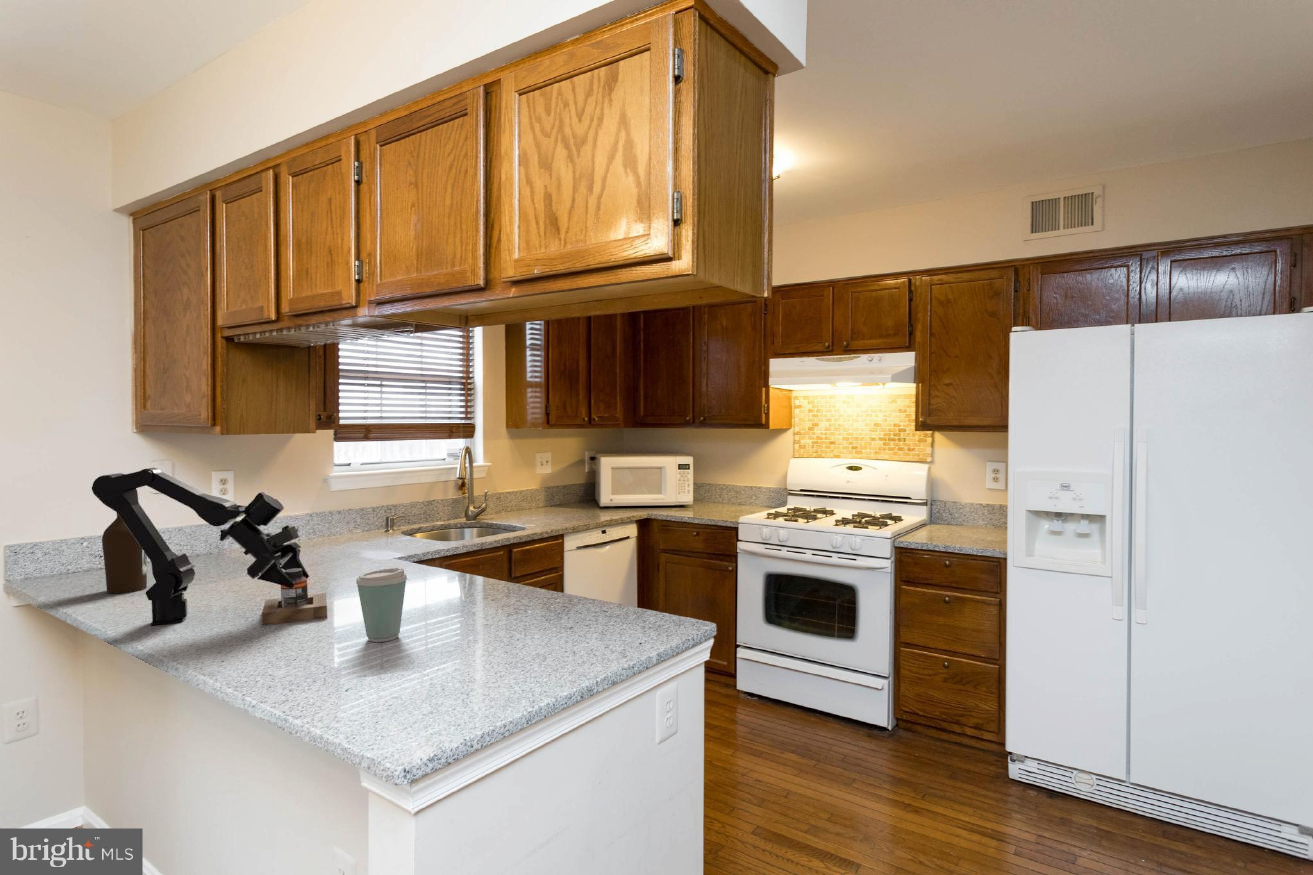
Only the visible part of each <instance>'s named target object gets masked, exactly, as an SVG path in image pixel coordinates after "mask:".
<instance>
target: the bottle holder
mask: <svg viewBox="0 0 1313 875" xmlns="http://www.w3.org/2000/svg"><path fill="white" fill-rule="evenodd" d="M327 600H328V599H327V592H322V593H315V594H308V605H302V606H294V607H285V608H282V607H281V606H282V603H281V602H282V601H281V597H279V598H270V599H265V600H264V604H263V608H262V611H261V626H270V625H272V626H273V625H278V624H287V623H294V622H296V623H297V622H302V621H311V620H320V619H326V618H328V603H327Z"/></svg>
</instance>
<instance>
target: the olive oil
mask: <svg viewBox="0 0 1313 875" xmlns="http://www.w3.org/2000/svg"><path fill="white" fill-rule="evenodd" d="M101 546H102V554H103V562H104V572H105V584H106V593H107V594H111V595H112V594H113V595H117V594H129V593H134V592H139V591H142V590H145V589H146V588H147V587H148V586H147V585H148V579H147V578H148V557H147V555H146V554H145V552H144V551H143V549H142V548H141V546H140V545H139V544H138V542H137V541H136V539H135V538H134V536H133V535H132V533H131V532H130V531H129V529H128V528H127V526H126V525H125V523H124V522H123V520H122V519H121V518H120V516H119V515H118V513H117V512H116V518H115V519H114V520H113V521H112V522H111V523H110V524H109V526H107V528H105V530H104V531H103V533H102V537H101Z"/></svg>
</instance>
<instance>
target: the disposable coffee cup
mask: <svg viewBox="0 0 1313 875" xmlns="http://www.w3.org/2000/svg"><path fill="white" fill-rule="evenodd" d="M407 580H408V578H407V574H406V573H405V568H403V567H388V568H382V569H376V570H371V571H368V572H364V573H362V574H360V575H358V577H357V578H356V581H355V582H356V585H357V591H358V596H359V602H360V606H361V612H362V617H363V623H364V628H365V635H366V637H367V639H368V641H369V642H373V643H381V642H382V643H383V642H389V641H393V640H395V639H397V638H398V637H399V634H400V632H401V624H402V619H403V618H402V616H403V609H404V608H403V607H404V601H405V592H406V584H407V583H406V582H407Z"/></svg>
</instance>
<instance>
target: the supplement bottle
mask: <svg viewBox="0 0 1313 875" xmlns="http://www.w3.org/2000/svg"><path fill="white" fill-rule="evenodd" d="M283 571H284V572H285V574H286V575H287V576H288V577H289V578H290V579H291V580H292V582H293V583H294V584H295V585H294V586H293V587H292V588H289V587H285V586H282V585H280V598H281V601H282V602H281V603H282V606H281V607H282V608H285V607H294V606H302V605H308V595H309V591H308V579H306V578H305V577H303V575H302V574H303V573H302V569H300V568H294V569H288V570H283Z"/></svg>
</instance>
